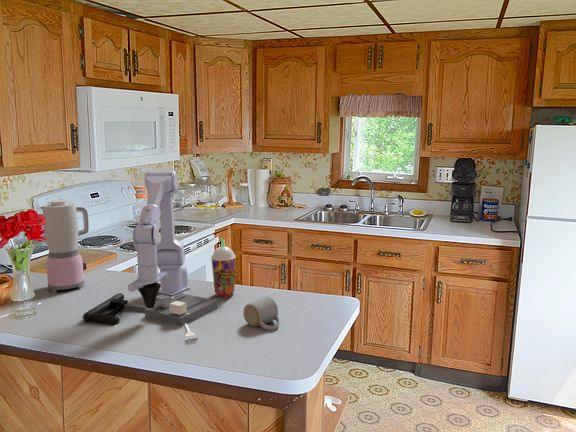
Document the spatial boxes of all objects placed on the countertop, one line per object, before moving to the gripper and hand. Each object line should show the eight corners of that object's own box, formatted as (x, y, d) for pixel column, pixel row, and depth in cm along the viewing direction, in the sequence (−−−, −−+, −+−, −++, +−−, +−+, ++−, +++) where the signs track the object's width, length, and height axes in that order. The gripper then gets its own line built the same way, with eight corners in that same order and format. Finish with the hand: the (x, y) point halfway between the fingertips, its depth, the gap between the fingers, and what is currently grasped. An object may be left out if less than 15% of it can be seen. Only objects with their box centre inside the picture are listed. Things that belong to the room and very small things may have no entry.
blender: (51, 295, 181) (42, 205, 175) (44, 286, 191) (36, 200, 185) (97, 286, 190) (90, 200, 184) (89, 278, 200) (82, 196, 194)
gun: (157, 297, 172) (114, 291, 175) (125, 320, 153) (77, 313, 156) (157, 307, 172) (114, 300, 176) (125, 331, 153) (77, 323, 157)
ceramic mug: (241, 323, 155) (241, 299, 153) (261, 316, 160) (261, 292, 159) (266, 334, 147) (265, 309, 146) (286, 326, 153) (286, 301, 152)
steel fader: (161, 302, 164) (161, 294, 164) (171, 305, 163) (170, 296, 162) (154, 305, 162) (154, 297, 161) (164, 308, 160) (164, 299, 159)
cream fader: (176, 309, 159) (176, 300, 158) (186, 311, 157) (186, 302, 156) (169, 312, 156) (169, 303, 156) (180, 314, 154) (179, 306, 154)
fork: (188, 318, 161) (187, 313, 161) (198, 343, 143) (198, 336, 142) (177, 320, 160) (177, 314, 160) (186, 345, 142) (186, 338, 141)
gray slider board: (181, 300, 175) (181, 292, 175) (217, 307, 168) (217, 300, 167) (145, 316, 161) (144, 309, 160) (182, 326, 153) (181, 317, 153)
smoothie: (221, 300, 175) (219, 242, 171) (207, 294, 181) (205, 238, 177) (241, 294, 180) (240, 238, 176) (227, 289, 186) (226, 234, 182)
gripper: (154, 256, 163) (157, 298, 165) (119, 268, 150) (122, 312, 153) (172, 259, 159) (174, 301, 162) (137, 271, 147) (139, 317, 150)
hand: (150, 307), depth 157 cm, fingers closed
